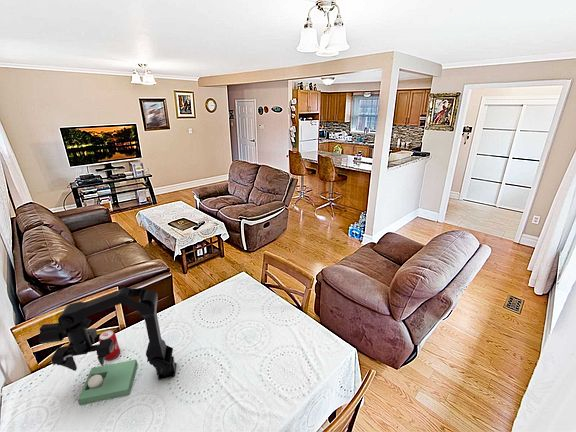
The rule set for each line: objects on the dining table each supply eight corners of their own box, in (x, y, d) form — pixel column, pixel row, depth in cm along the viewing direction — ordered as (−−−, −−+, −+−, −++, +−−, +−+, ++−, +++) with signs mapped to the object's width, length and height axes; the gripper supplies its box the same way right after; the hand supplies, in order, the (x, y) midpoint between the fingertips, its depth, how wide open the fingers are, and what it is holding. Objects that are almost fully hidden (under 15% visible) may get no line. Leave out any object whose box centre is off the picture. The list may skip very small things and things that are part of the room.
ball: (93, 382, 115) (106, 378, 116) (88, 393, 110) (102, 389, 111) (88, 373, 113) (102, 370, 114) (83, 385, 108) (97, 381, 109)
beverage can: (113, 362, 123) (106, 341, 119) (101, 359, 124) (94, 339, 120) (123, 350, 129) (117, 330, 124) (112, 348, 130) (105, 328, 126)
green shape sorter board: (137, 364, 122) (136, 359, 121) (129, 394, 110) (127, 389, 109) (93, 373, 118) (91, 367, 117) (79, 405, 106) (77, 399, 105)
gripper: (113, 316, 112) (121, 346, 118) (59, 325, 108) (70, 355, 114) (104, 337, 102) (113, 368, 108) (44, 347, 98) (57, 379, 104)
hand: (89, 367), depth 109 cm, fingers open, 9 cm apart
